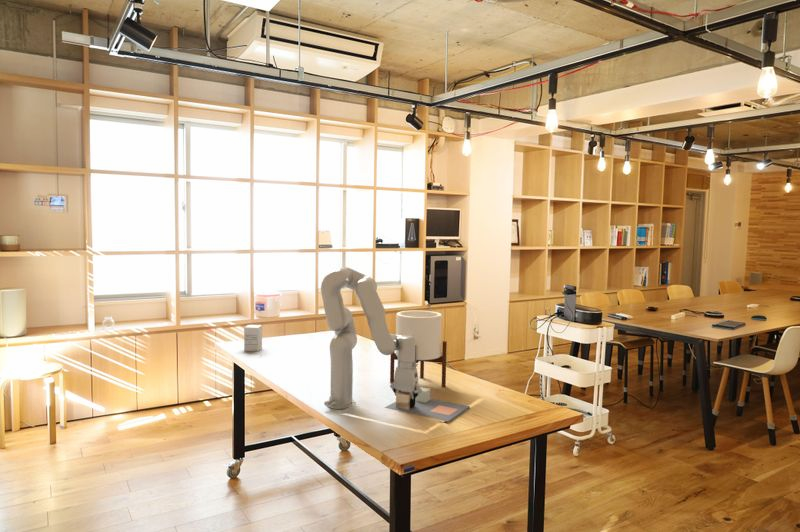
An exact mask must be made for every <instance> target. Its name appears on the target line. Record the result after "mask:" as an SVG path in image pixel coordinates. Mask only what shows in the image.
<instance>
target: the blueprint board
mask: <svg viewBox="0 0 800 532" xmlns="http://www.w3.org/2000/svg"><path fill="white" fill-rule="evenodd" d="M384 409H389V410H393V411H399V412H403V413H408V414H413V415H416V416H422V417H426V418H430V419H435V420H439V421H438V423H441V421H443V422H442V424H449V423H450V422H453V421H454V420H455V419H457V418H458V417H459V416H461V415H462V414H464V413H465V412H467V411H468V410H469V409H471V408H470V405H467V404H460V403H456V402H450V401H445V400H441V399H435V398H430V400H429V401H427V402H425V403H424V402H419V401H415V406H414V407H413V408H411V409H409V410H406V409H401V408H397V407H396V401H394V402H392V403H391V404H388V405H386V406H385V407H384Z"/></svg>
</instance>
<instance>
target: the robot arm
mask: <svg viewBox="0 0 800 532" xmlns="http://www.w3.org/2000/svg"><path fill="white" fill-rule="evenodd" d="M342 288H348V289H351V290H352V291H354V292H355V295H356V297H357V299H358V301H359V303H360V306H361V309H362V311H363V312H364V315H365V317H366V323H367V325H368V327H369V328H368V329H369V331H370V335H371V337H372V339H373V342H374V343H375V346H376V348H377V350H378V351H379V353H381V354H382V355H383V356H391V354H392V353H393V352H394V351H395V352H396V350H397V351H398V360H397V365H396V368H395V370H394V382H393V383H390V385H389V387H390V389H391V390H392V392H393V393H394V395H395V397H396V393H398V392H400V391H406V392H409V393H410V396H411V399H410V408H413V407H414V406H415V398H416V397H417V396H418V395H419V394H420V393H421V392H422V390H421V388H420V387H421V386H420V385H419V384H420V383H419V372H418V363H415V337H413V336H410V335H403V336H401V335H396V333H390V330H389V328H388V325H387V321H386V319H387V318H386V310H385V307H384V305H383V303H382V300H381V298H380V296H379V294H378V292H377V291H378V290H377V289H378V284H377V282H376V280H375V279H374V278H373V277H371V276H369V275H367V274H364V273H362V272H360V271H357V270H355V269H353V268H350V267H347V266H342V267H338V268H337V267H336V268H335V269H333V270H331V271H329V272H328V273H327V274H326V275H324V278H323V279H322V282H321V286H320V293H321V298H322V302H323V308H324V313H325V319H326V324H327V326H328V328H329V330H331V331H334V336H333V337H332V338H331V341H330V343H329V356H330V357H329V358H330V396H329V399H328V400H326V401H324V403H323V404H324V405H325V407H328V408H329V409H334V410H345V409H348V408H350V407H353V406H355V405H356V404H357V401H355V399H353V385H354V384H353V383H354V382H353V381H354V380H353V379H354V377H353V375H354V374H353V372H354V368H353V367H354V366H353V365H354V364H353V349H354V348H355V347H356V345H357V343H358V337H357V331H356V326H355V322H354V318H353V317H354V316H353V314H352V312H351V310H350V309H349V308H348V307H347V306H345V305H344V299H343V296H342V293H341V289H342ZM415 367H416V368H415ZM415 390H417V392H415Z"/></svg>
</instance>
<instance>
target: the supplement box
mask: <svg viewBox="0 0 800 532" xmlns="http://www.w3.org/2000/svg"><path fill="white" fill-rule="evenodd" d="M243 332H244V333H243V334H244V335H243V337H244V338H243V340H244V341H243V343H244V344H243V345H244V347H243V348H244V349H243V351H244V352H259V351H260V350H261V349H262V348H263V325H261V324H248V325H246V326H244V327H243Z"/></svg>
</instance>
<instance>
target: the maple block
mask: <svg viewBox="0 0 800 532" xmlns="http://www.w3.org/2000/svg"><path fill="white" fill-rule="evenodd" d="M410 399H411V396H410V393H409V392H406V391H400V392H398V393H396V396H395V402H396V407H397V408H401V409H406V410H409V409H411V408H410Z"/></svg>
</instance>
